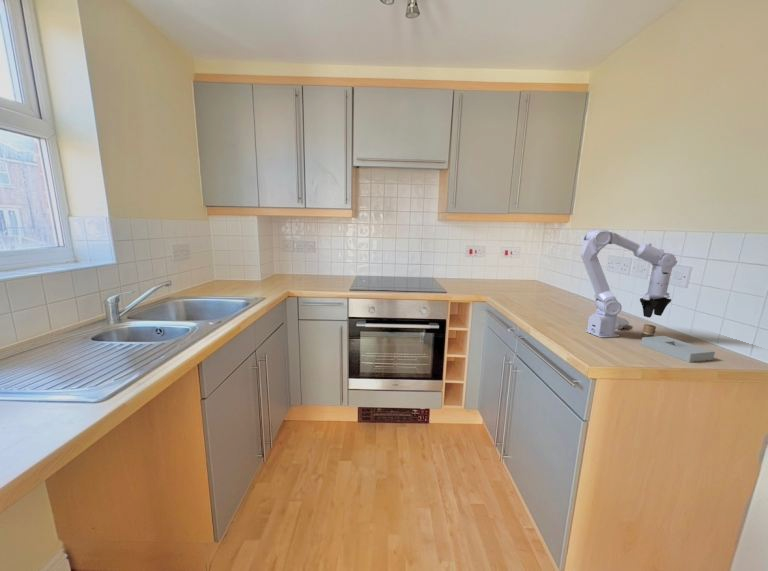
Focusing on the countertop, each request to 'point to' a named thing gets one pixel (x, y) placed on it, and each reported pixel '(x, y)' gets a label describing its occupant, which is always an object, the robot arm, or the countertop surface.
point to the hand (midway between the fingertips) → (652, 316)
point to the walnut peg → (648, 331)
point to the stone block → (621, 323)
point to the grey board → (678, 348)
